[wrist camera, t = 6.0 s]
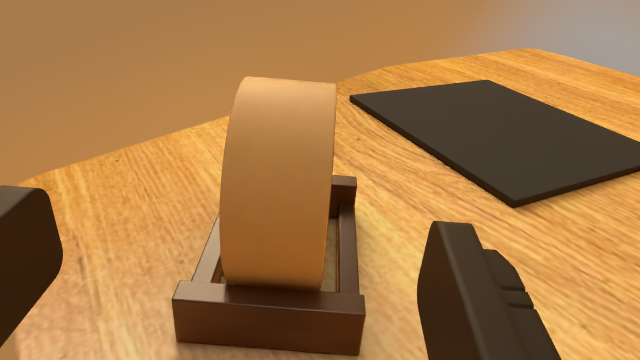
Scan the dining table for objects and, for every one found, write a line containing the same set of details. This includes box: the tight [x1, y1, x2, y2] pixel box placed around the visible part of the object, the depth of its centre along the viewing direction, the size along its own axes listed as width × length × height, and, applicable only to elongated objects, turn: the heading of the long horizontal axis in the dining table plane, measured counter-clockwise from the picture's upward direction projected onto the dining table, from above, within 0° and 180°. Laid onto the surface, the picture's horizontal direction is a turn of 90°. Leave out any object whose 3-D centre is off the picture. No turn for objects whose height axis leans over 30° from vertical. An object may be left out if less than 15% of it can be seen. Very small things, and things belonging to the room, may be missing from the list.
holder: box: [172, 175, 366, 355], centre depth 24 cm, size 8×12×2 cm
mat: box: [349, 80, 640, 207], centre depth 44 cm, size 22×20×1 cm
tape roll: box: [219, 77, 337, 291], centre depth 22 cm, size 4×10×10 cm, turn 178°
